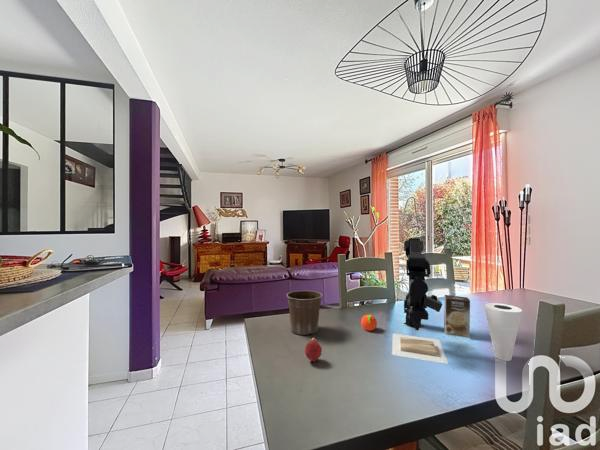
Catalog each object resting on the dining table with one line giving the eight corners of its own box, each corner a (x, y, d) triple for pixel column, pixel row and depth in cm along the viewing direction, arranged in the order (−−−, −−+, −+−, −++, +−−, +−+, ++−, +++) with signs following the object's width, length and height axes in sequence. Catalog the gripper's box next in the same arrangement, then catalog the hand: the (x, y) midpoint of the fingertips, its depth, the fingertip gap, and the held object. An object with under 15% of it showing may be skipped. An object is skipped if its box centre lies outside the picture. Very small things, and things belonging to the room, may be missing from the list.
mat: (392, 334, 114) (392, 333, 114) (439, 340, 107) (439, 339, 107) (391, 356, 95) (391, 354, 95) (448, 365, 88) (448, 363, 88)
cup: (477, 350, 99) (477, 302, 99) (506, 350, 99) (506, 303, 99) (498, 365, 89) (498, 312, 89) (530, 365, 88) (530, 312, 88)
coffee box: (445, 335, 113) (445, 298, 113) (443, 330, 118) (443, 294, 119) (470, 339, 109) (470, 300, 109) (467, 333, 115) (467, 296, 115)
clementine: (377, 335, 113) (377, 318, 113) (361, 333, 114) (361, 317, 114) (376, 328, 121) (376, 312, 121) (360, 326, 122) (360, 311, 122)
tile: (400, 336, 106) (400, 346, 98) (433, 341, 102) (436, 351, 94) (400, 340, 106) (400, 350, 98) (433, 345, 102) (436, 356, 94)
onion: (316, 367, 87) (316, 343, 87) (301, 362, 90) (301, 339, 90) (324, 359, 92) (324, 337, 92) (310, 355, 95) (310, 333, 95)
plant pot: (291, 322, 128) (291, 289, 128) (324, 324, 125) (324, 290, 125) (282, 335, 112) (282, 298, 112) (319, 339, 109) (319, 300, 109)
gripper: (444, 297, 90) (444, 343, 89) (436, 285, 107) (437, 324, 107) (409, 294, 93) (409, 338, 93) (407, 283, 111) (407, 320, 111)
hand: (417, 329), depth 101 cm, fingers closed
